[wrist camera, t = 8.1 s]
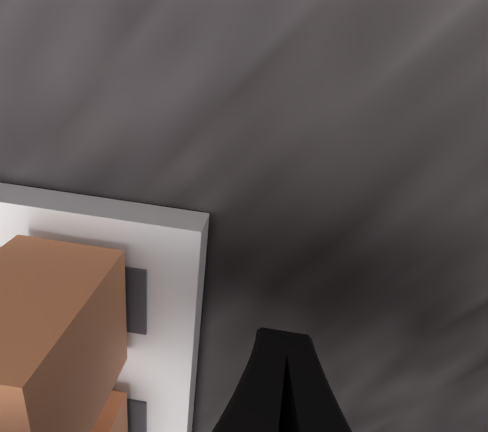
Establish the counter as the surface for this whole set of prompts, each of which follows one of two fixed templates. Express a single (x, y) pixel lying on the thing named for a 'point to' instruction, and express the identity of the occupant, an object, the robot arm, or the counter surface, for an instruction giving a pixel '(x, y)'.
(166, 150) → the counter surface
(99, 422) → the tab far
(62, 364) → the tab near
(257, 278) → the counter surface
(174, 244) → the switch bank
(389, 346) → the counter surface
